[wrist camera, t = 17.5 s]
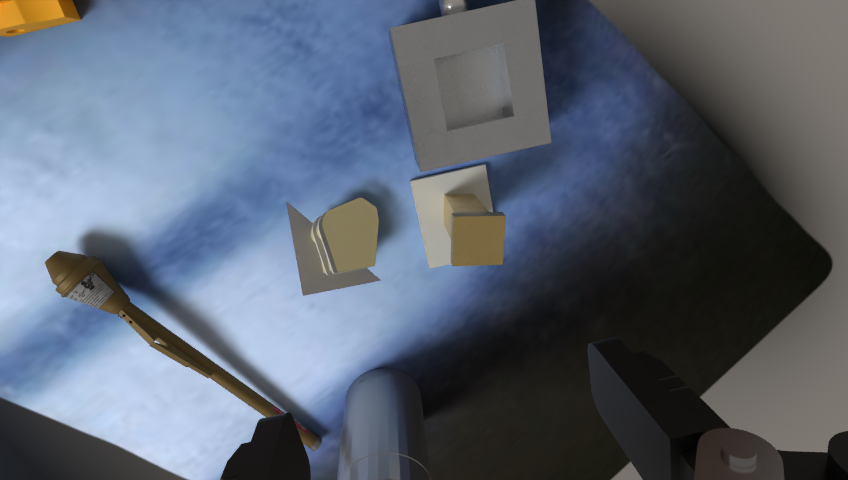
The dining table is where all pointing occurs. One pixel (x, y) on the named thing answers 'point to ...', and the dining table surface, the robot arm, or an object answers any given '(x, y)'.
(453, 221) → the capped wooden post
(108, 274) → the panzerfaust rocket launcher
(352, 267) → the stacked layers on plate
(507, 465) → the dining table surface
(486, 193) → the mat
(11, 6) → the pipe clamp
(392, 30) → the block
